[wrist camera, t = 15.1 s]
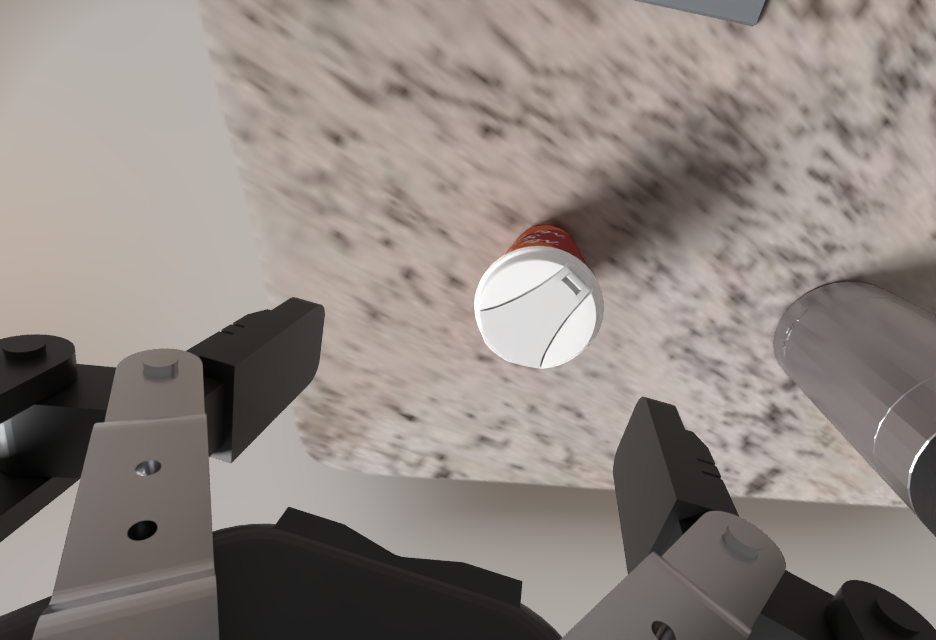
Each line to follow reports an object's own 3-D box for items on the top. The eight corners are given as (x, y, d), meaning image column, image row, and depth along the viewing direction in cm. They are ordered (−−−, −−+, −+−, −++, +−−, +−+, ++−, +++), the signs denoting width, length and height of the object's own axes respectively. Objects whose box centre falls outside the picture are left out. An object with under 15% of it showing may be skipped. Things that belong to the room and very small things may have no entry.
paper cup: (545, 191, 39) (537, 222, 26) (611, 258, 40) (635, 319, 27) (478, 258, 42) (442, 315, 29) (541, 319, 43) (533, 400, 30)
